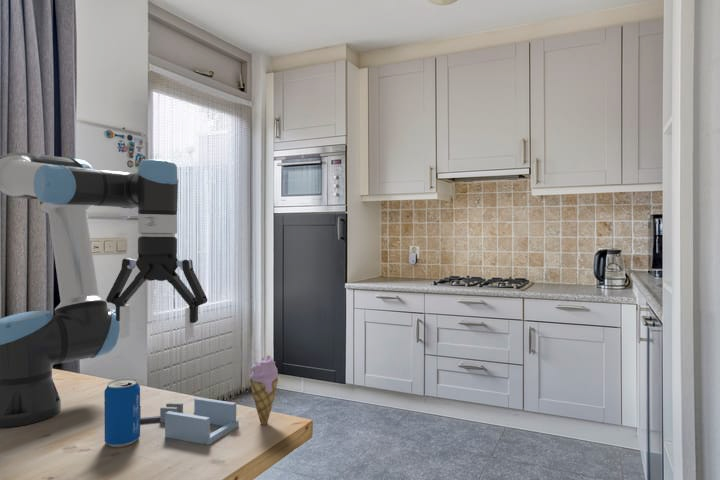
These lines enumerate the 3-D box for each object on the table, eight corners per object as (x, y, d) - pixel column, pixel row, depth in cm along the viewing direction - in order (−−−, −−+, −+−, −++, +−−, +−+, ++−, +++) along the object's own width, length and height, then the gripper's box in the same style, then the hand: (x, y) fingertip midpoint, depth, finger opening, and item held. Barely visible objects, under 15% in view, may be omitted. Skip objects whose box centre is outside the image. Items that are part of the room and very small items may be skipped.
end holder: (165, 437, 101) (165, 413, 101) (197, 419, 111) (197, 397, 111) (208, 445, 98) (208, 420, 98) (238, 425, 107) (238, 403, 107)
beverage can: (126, 450, 95) (126, 388, 95) (97, 447, 97) (96, 386, 96) (146, 436, 102) (146, 379, 101) (119, 434, 103) (119, 377, 103)
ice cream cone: (285, 424, 108) (285, 356, 108) (261, 432, 104) (261, 362, 104) (266, 416, 113) (266, 351, 113) (243, 424, 108) (243, 356, 108)
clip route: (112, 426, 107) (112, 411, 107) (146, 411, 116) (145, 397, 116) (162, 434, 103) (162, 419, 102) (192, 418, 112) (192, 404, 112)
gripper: (88, 234, 98) (87, 340, 99) (211, 236, 97) (210, 343, 98) (108, 234, 106) (107, 332, 106) (223, 236, 105) (221, 335, 105)
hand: (156, 337), depth 102 cm, fingers open, 13 cm apart
